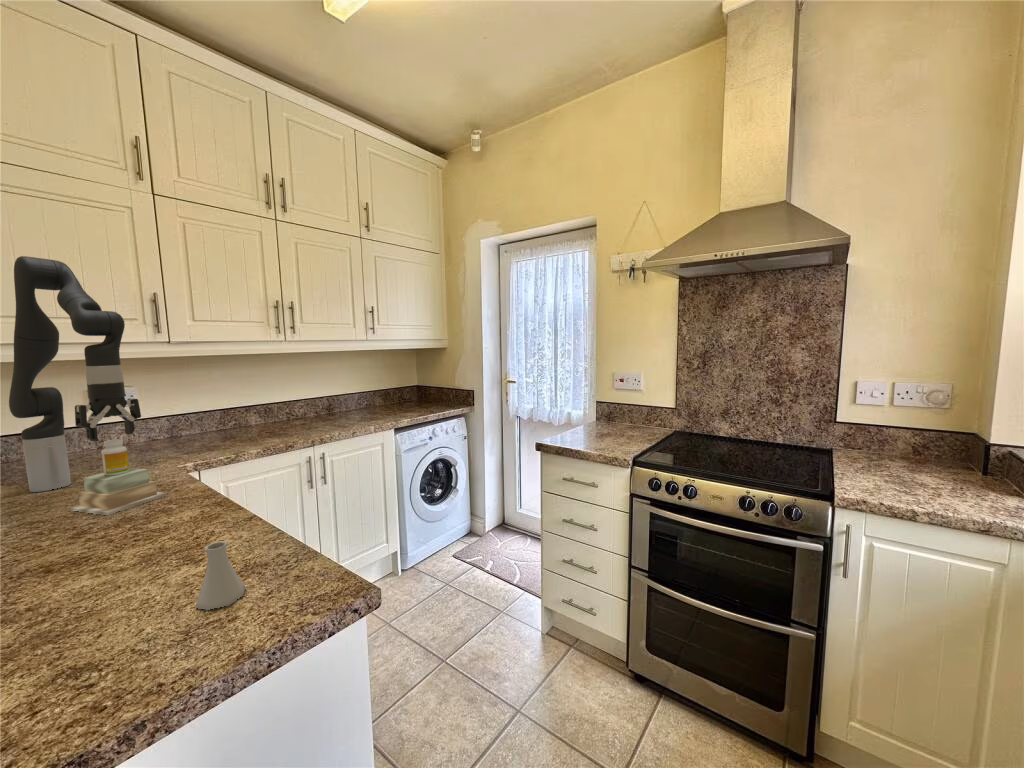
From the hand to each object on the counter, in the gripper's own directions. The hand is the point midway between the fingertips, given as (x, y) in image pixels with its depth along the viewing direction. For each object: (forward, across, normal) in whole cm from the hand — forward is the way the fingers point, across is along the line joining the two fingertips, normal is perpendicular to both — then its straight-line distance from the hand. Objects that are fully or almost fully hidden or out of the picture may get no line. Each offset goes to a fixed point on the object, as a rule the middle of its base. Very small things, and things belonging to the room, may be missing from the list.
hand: (112, 437), depth 119 cm
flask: (+19, +29, +74) cm, 82 cm away
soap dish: (+20, 0, 0) cm, 20 cm away
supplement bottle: (+11, 0, 0) cm, 11 cm away
